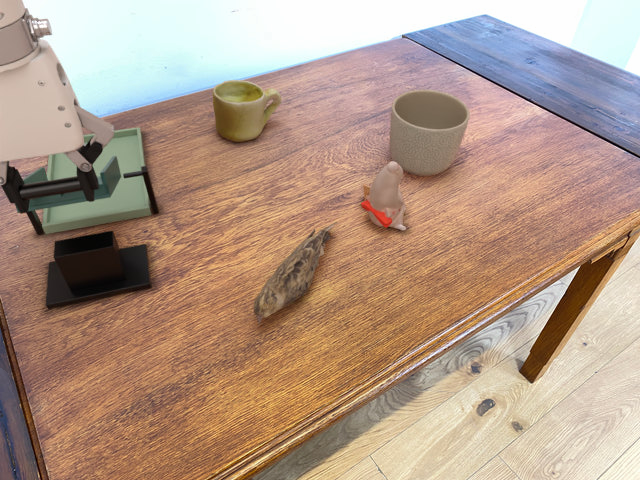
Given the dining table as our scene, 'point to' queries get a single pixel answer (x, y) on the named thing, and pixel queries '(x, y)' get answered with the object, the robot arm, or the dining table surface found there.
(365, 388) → the dining table surface
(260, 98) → the mug
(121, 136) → the tray
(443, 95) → the planter
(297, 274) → the bird model
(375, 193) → the figurine
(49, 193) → the scoop
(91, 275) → the stand
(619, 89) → the dining table surface
